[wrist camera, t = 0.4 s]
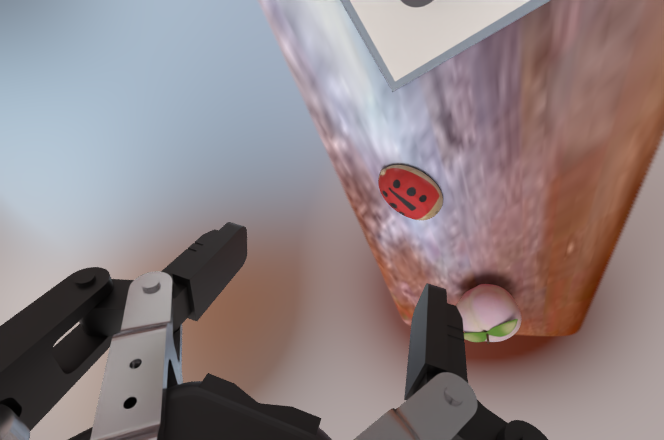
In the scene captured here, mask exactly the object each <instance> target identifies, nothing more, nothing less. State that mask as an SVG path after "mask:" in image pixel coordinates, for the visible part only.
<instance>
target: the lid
mask: <svg viewBox="0 0 664 440" xmlns="http://www.w3.org/2000/svg"><path fill="white" fill-rule="evenodd" d="M528 1H530V0H350V2H351V3H352V5H353V7H354V9H355V11H356V12H357V14H358V16H359V18H360V20H361V21H362V23H363V25H364V27H365V29H366V30H367V32H368V34H369V36H370V38H371V39H372V41H373V43H374V45H375V46H376V48H377V50H378V52H379V54H380V55H381V57H382V59H383V61H384V63H385V64H386V66H387V68H388V70H389V72H390V73H391V75H392V77H393V79H394V81H397V80H399V79H400V78H402V77H404V76H405V75H407V74H409V73H410V72H412V71H414V70H415V69H417V68H419V67H420V66H422V65H424V64H425V63H427V62H429V61H430V60H432V59H434V58H435V57H437V56H439V55H440V54H442V53H444V52H445V51H447V50H449V49H450V48H452V47H454V46H455V45H457V44H459V43H460V42H462V41H464V40H465V39H467V38H469V37H470V36H472V35H474V34H475V33H477V32H479V31H480V30H482V29H484V28H485V27H487V26H488V25H490V24H492V23H493V22H495V21H497V20H498V19H500V18H502V17H503V16H505V15H507V14H508V13H510V12H512V11H513V10H515V9H517V8H518V7H520V6H522V5H523V4H525V3H527V2H528Z"/></svg>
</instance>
